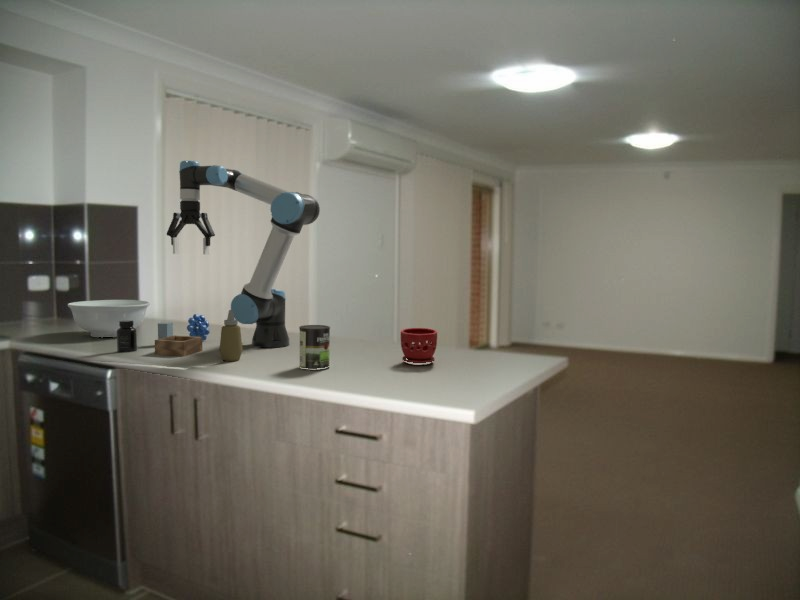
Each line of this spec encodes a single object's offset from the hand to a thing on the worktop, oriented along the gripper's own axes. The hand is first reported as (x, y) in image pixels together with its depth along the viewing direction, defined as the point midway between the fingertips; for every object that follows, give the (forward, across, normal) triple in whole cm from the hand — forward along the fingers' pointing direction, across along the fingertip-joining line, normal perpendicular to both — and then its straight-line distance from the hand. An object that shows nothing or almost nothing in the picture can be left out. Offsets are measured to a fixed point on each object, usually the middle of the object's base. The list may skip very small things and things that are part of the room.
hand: (190, 254), depth 248 cm
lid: (+37, +6, +9) cm, 39 cm away
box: (+37, -8, +21) cm, 43 cm away
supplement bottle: (+37, +12, +24) cm, 46 cm away
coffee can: (+37, -64, +27) cm, 79 cm away
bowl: (+37, +46, -9) cm, 60 cm away
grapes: (+37, 0, -6) cm, 37 cm away
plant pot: (+37, -96, +8) cm, 103 cm away
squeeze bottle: (+37, -31, +24) cm, 54 cm away
